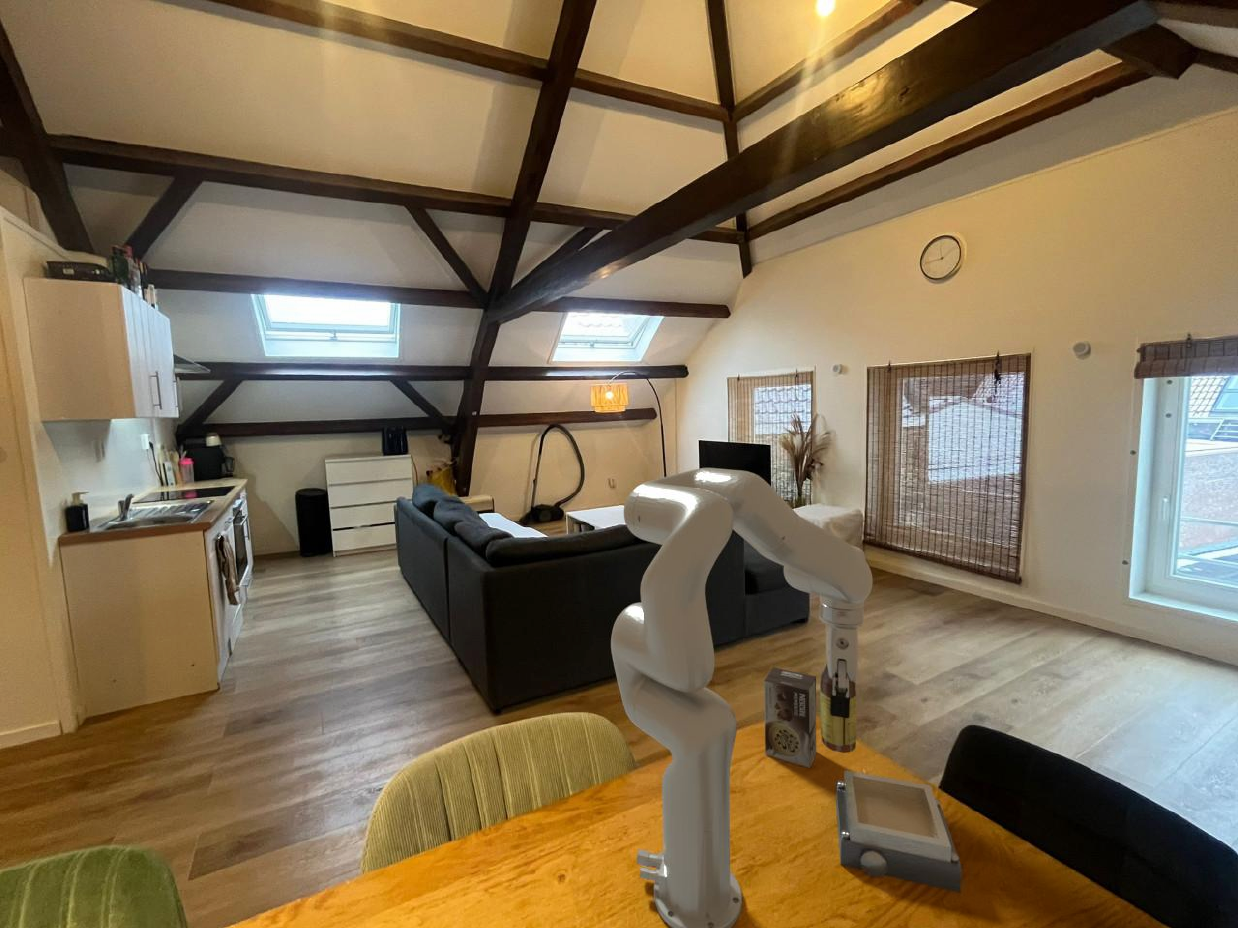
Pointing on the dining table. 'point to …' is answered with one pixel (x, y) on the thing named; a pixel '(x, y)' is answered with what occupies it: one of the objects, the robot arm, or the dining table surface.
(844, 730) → the sauce bottle
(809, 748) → the coffee box
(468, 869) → the dining table surface
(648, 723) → the robot arm
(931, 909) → the dining table surface
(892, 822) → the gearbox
